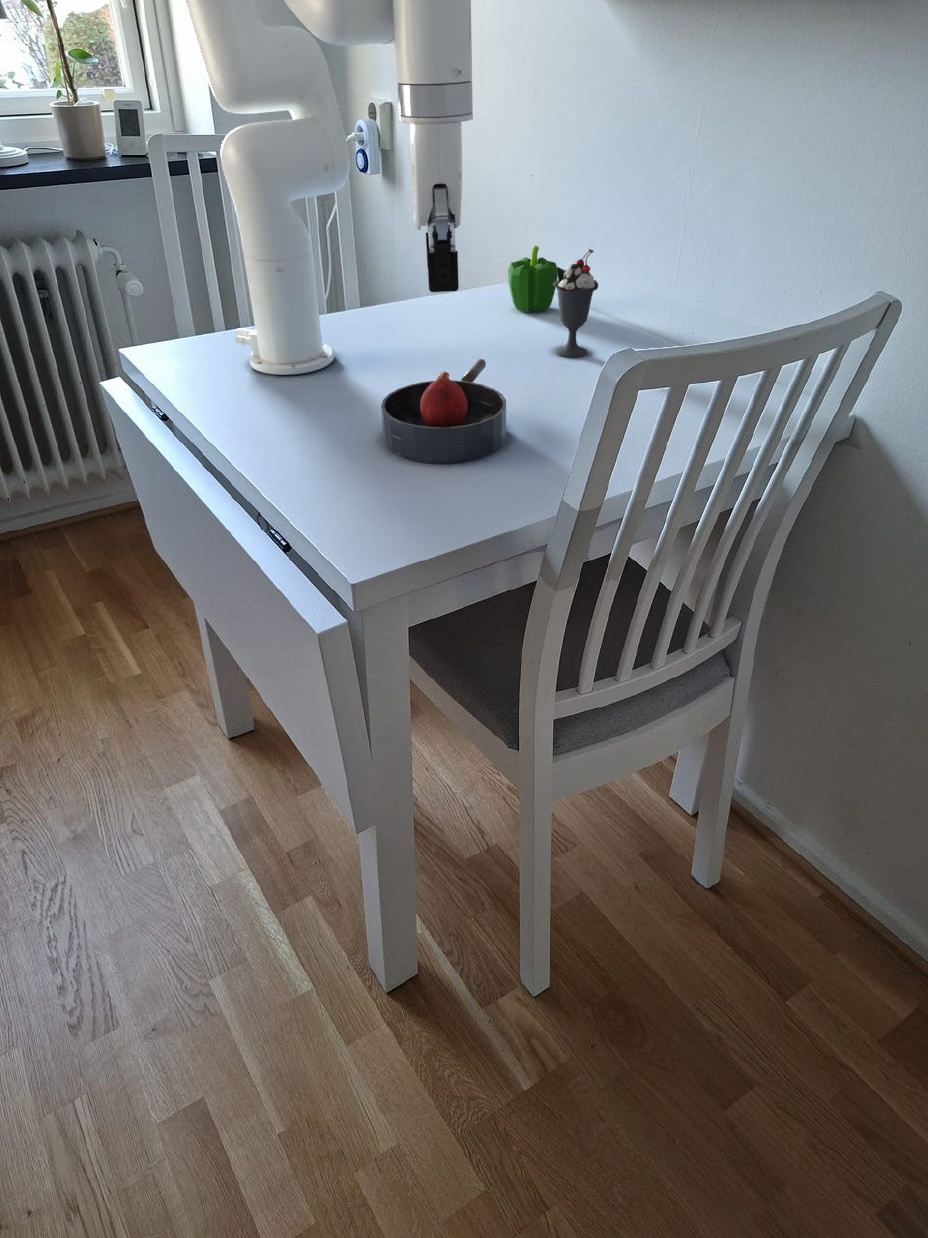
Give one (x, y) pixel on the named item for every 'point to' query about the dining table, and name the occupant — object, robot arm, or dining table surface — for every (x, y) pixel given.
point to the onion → (443, 403)
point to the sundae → (574, 302)
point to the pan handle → (474, 371)
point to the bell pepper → (532, 282)
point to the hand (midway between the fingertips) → (442, 279)
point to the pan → (444, 444)
